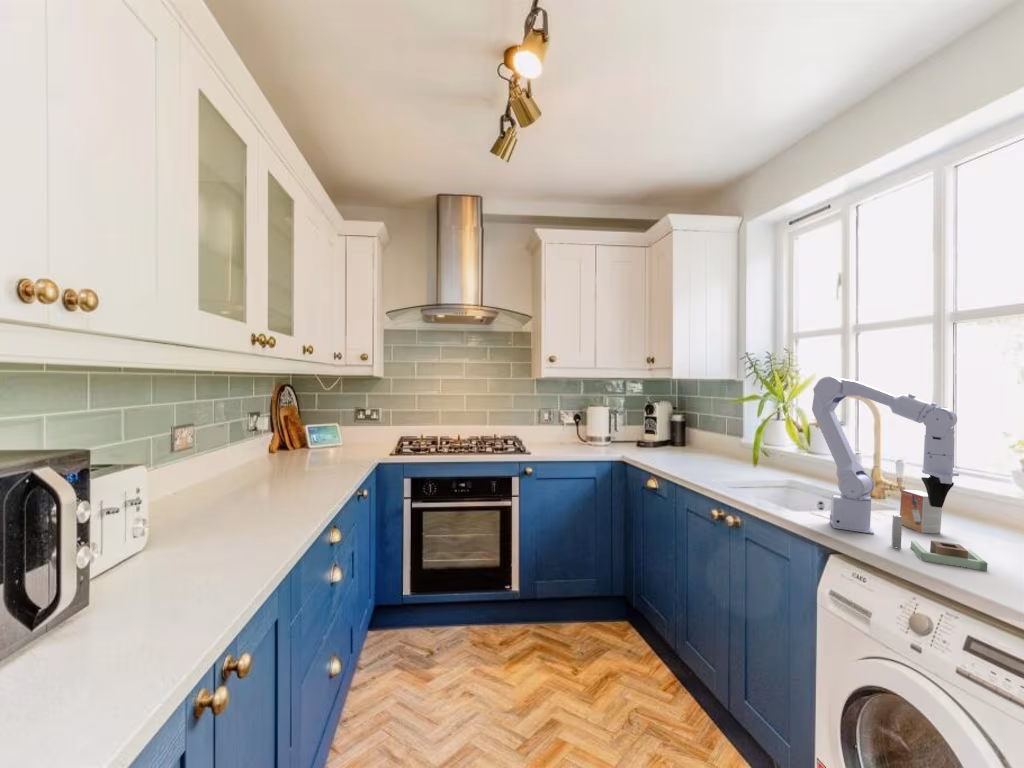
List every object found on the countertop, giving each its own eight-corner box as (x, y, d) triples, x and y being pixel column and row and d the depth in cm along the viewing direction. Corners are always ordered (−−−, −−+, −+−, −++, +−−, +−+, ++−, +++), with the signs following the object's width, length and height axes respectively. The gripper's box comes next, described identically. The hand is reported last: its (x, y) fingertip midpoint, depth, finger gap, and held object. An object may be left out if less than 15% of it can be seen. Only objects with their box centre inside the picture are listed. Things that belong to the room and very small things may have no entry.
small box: (898, 524, 143) (900, 489, 142) (917, 525, 142) (919, 490, 142) (920, 533, 135) (922, 495, 134) (941, 533, 134) (943, 496, 134)
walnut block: (936, 561, 112) (937, 546, 112) (930, 554, 117) (930, 540, 117) (967, 566, 110) (968, 551, 110) (959, 558, 115) (959, 544, 115)
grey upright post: (892, 547, 122) (894, 516, 121) (891, 545, 123) (892, 514, 123) (900, 548, 121) (902, 517, 121) (899, 546, 122) (900, 515, 122)
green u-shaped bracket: (922, 560, 113) (922, 552, 113) (910, 547, 122) (910, 540, 122) (987, 571, 107) (987, 563, 107) (970, 556, 116) (970, 549, 116)
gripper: (969, 459, 114) (967, 515, 115) (949, 452, 127) (946, 502, 127) (931, 456, 118) (929, 511, 118) (915, 449, 131) (913, 498, 131)
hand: (936, 506), depth 123 cm, fingers closed
